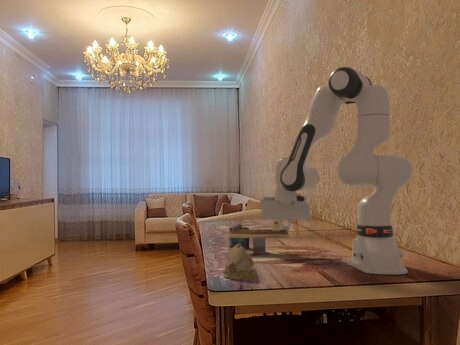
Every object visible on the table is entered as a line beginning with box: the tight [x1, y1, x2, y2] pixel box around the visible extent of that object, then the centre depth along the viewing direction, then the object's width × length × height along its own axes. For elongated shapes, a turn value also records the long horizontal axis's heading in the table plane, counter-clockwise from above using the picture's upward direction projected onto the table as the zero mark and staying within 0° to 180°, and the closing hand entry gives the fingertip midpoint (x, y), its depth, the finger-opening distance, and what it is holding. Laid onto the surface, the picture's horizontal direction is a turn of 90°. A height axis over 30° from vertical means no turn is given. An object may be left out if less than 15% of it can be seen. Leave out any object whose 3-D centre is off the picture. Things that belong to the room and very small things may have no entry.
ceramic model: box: [223, 243, 258, 281], centre depth 130 cm, size 14×11×10 cm
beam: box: [230, 225, 290, 255], centre depth 168 cm, size 6×24×11 cm, turn 86°
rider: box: [271, 220, 281, 231], centre depth 168 cm, size 3×3×5 cm
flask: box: [228, 222, 250, 249], centre depth 182 cm, size 9×3×11 cm, turn 73°
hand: (285, 230), depth 168 cm, fingers closed
